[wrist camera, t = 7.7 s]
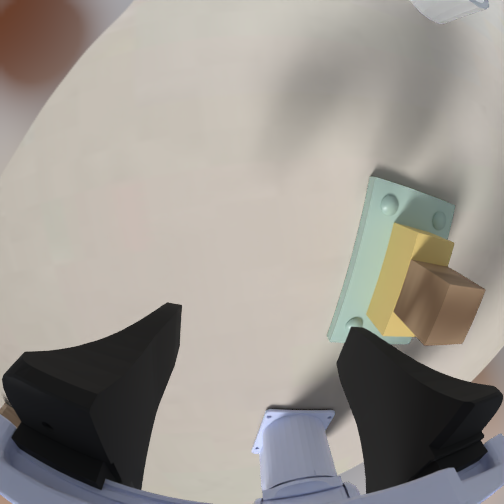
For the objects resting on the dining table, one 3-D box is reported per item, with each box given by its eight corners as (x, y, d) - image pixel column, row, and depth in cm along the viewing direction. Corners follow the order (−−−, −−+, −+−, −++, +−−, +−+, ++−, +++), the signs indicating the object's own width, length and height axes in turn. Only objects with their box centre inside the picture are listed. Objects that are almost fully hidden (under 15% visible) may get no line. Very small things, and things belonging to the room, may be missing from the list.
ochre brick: (401, 316, 22) (420, 336, 18) (365, 314, 21) (382, 336, 18) (429, 232, 19) (454, 242, 16) (393, 222, 19) (418, 232, 16)
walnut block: (430, 314, 18) (462, 343, 13) (393, 311, 17) (424, 345, 13) (447, 266, 17) (485, 289, 12) (410, 259, 16) (449, 284, 12)
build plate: (404, 338, 24) (409, 344, 23) (326, 335, 23) (330, 342, 22) (448, 203, 20) (456, 205, 19) (369, 176, 19) (376, 176, 18)
